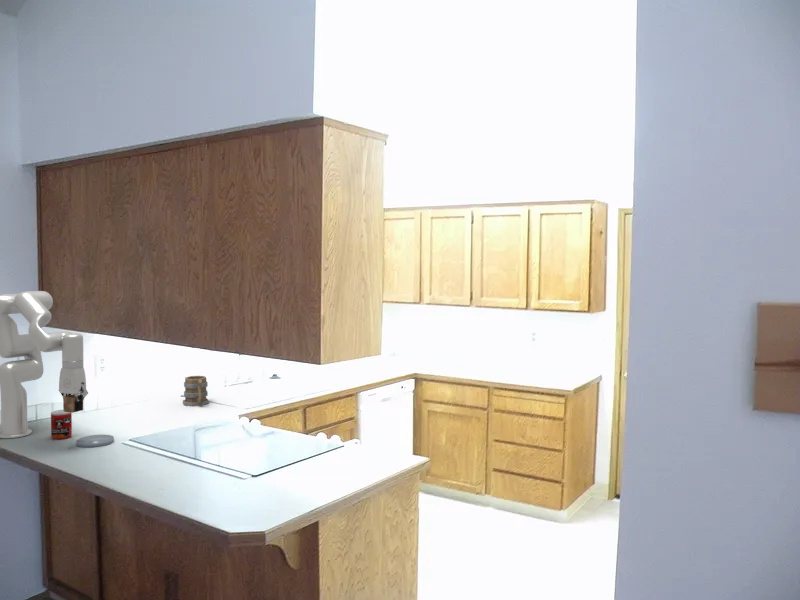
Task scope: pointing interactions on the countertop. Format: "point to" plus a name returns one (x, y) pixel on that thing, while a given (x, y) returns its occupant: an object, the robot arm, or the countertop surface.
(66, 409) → the walnut block
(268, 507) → the countertop surface
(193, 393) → the tankard
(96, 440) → the dish
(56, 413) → the canned food
